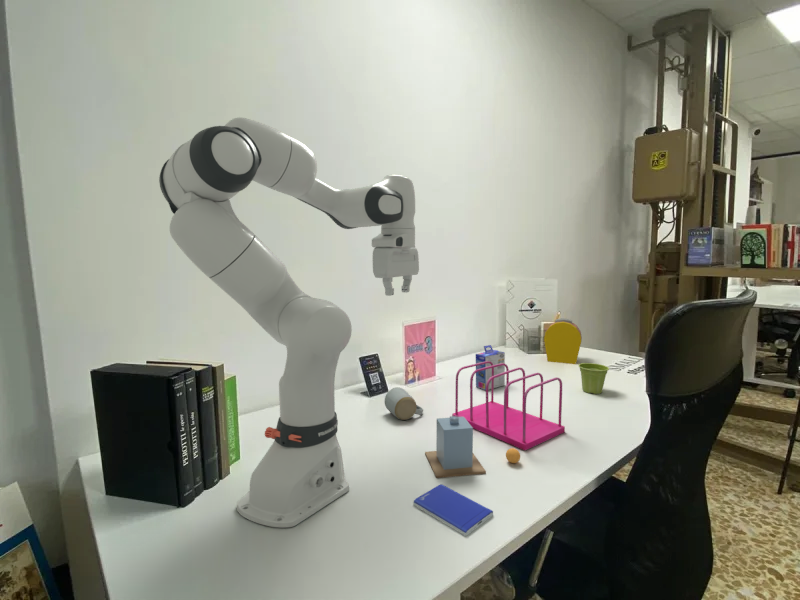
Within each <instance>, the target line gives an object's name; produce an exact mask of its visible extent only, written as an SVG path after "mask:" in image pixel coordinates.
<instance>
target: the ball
mask: <svg viewBox="0 0 800 600" xmlns="http://www.w3.org/2000/svg"><path fill="white" fill-rule="evenodd" d="M505 459H506V460H507V461H508V462H509V463H510V464H517V463H519V461H520V459H521V453H520V452H519V450H518V449H517V448H515V447H512V448H508V449H507V450H506V452H505Z"/></svg>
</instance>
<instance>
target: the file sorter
mask: <svg viewBox="0 0 800 600" xmlns="http://www.w3.org/2000/svg"><path fill="white" fill-rule="evenodd" d="M486 363H490V364H491V366H488V367H484V368H480V369H477V370H476V369H475V370H473V372H472V373H471V375H470V379H469V387H470V388H469V401H470V402H469V404H470V405H469V406H470V407H469V408H466V409H465V408H464V409H463V410H460V411H459V405H458V404H459V375H460V373H461V371H462V370H465V369H469V368H473V367H476V366H477V365H482V364H486ZM502 365H504V366H505V372H503V373H500V374H497V375H494V367H498V366H502ZM490 368H492V377H490V378H489V380H488V381H487V384H486V390H485V402H484V403H481V404H478V405H475V406H473V405H474V404H473V401H474V398H473V394H474V392H473V388H474V387H473V381H474V376H475V375H476V372H478V371H482V370H486V369H490ZM519 370H520V371H521V372H522V377H520V378H515V379H513V380H510V381H509V378H510V376H509V374H510V373H513V372H516V371H519ZM504 374H505V375H506V377H505V383H506V384H505V388H504V392H503V404H502V403H500V402H499V403H498V402H495V401H494V389H495V388H494V378H496V377H499V376H502V375H504ZM535 376H539V378H540V382H539V383H537V384H534V385H531V386H529V387H528V388H527V389H526V379H529V378H533V377H535ZM491 380H492V389H490V390H491V393H490V394H491V396H490V400H491V401H489V390H488V387H489V383H490V381H491ZM520 381H522V406H521V407H522V410H519V409H516V408H514V407H511V406H509V398H510V397H509V389H510V388H509V387H510V386H511V385H512V384H515V383H518V382H520ZM555 381H558V382H559V391H558V392H559V393H558V394H559V395H558V396H559V397H558V398H559V399H558V423H556V422H553V421H550V420H547V419H545V418H543V404H544V402H543V400H544V385H546V384H549V383H551V382H555ZM539 387H540V397H539V399H540V402H539V416H537V415H536V416H535V415H533V414H529V413H527V397H528V394H529V393H530V391H531V390H533V389H536V388H539ZM454 403H455V405H454V406H455V409H454V410H455V411H454V412H453V413H452V415H451V417H452V416H456V417H464V418H465V419H466V420H467V421H468V423H469V424H470V425H471V426H472V427H473V430H477V431H479V432H482V433H484V434H485V435H488V436H491V437H493V438H495V439H498V440H499V441H501V442H502V441H503V442H505V443H507V444H509V445H511V446H513V447H516V448H518V449H520V450H523V451H527V450H529V449H531V448H534V447H536V446H539V445H541V444H542V443H544V442H546V441H549V440H551V439H553V438H555V437H557V436H559V435H562V434H564V433H565V432H566V428H565V427H566V426H564V425H562V407H563V405H562V404H563V380H562V379H561V378H560V377H553V378H550V379H547V380H545V381H544V377H543V374H542V373H540V372H535V373H531V374H528V375H526V372H525V369H523V367H516V368H513V369H512V368H511V369H509V366H508V365H507V364H506V363H505V364H504V363H501V364H497V365H493V363H492V362H490V361H486V362H481V363H477V364H476V363H474V364H469V365H466V366H462V367H460V368H458V370H457V372H456V375H455V402H454Z"/></svg>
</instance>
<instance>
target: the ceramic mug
mask: <svg viewBox="0 0 800 600" xmlns="http://www.w3.org/2000/svg"><path fill="white" fill-rule="evenodd" d="M384 406H385V408H386V409H387V410H388V411H389V412H390V413H391V414H392V415H393V416H394V417H395V418H397V419H398V420H402V421H407V420H410V419H411V418H413V416H414V415H418V416H422V415H423V412H424V409H423V407H421V406H419V404H417V402H416V401H415V399H414V397H412V395H411V394H409V393H408V392H407V391H406V389H404V388H402V387H393V388H391V389H389V390H388V391H387V393H386V394H385V396H384Z"/></svg>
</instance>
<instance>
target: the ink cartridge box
mask: <svg viewBox="0 0 800 600" xmlns="http://www.w3.org/2000/svg"><path fill="white" fill-rule="evenodd" d="M488 348H489V349H488ZM483 349H484V351H483V352H478V353H476V354H475V364H477V363H481V362H486V361H490V362H492V363H493V365H497V364H501V363H504V364H506V362H505V361H506V354H505V352H504V351H501V350H498V349H497V350H496V349H493V347H492V345H490V344H489V345H484V346H483ZM488 366H491V364H490V363H486V364H482V365H477V366H475V370H477V369H480V368H484V367H488ZM503 372H506V367H505V366H504V365H502V366H498V367H494V375H497V374H500V373H503ZM505 375H506V374H504V375H502V376H499V377H496V378H494V389H495V388H500V387H504V386H506V384H505V383H506V377H505ZM490 377H492V368H490V369H486V370H482V371H478V372H476V373H475V387H476V388H478V389H480V388H481V390H483V391H486V384H487V381H488V380H489V378H490ZM491 389H492V380H491V381H490V383H489V387H488V391H489V390H491Z"/></svg>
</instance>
